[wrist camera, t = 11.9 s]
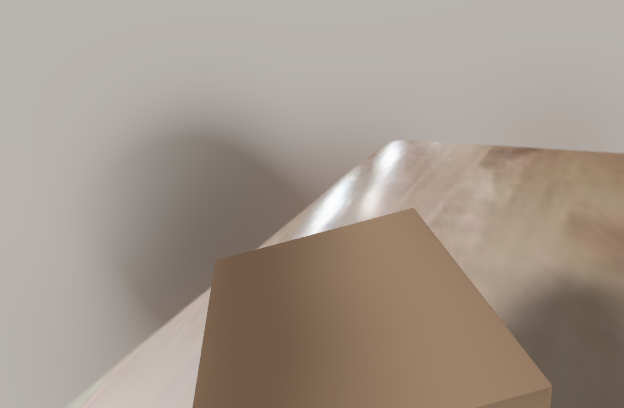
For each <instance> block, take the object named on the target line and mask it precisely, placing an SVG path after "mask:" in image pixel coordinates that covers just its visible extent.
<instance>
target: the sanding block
mask: <svg viewBox="0 0 624 408" xmlns="http://www.w3.org/2000/svg"><path fill="white" fill-rule="evenodd" d="M552 391H553V386H552V384H551V383H550V382H549V381H548V379H547V378H546V377H545V375H544V374H543V373H542V372H541V370H540V369H539V368H538V367H537V365H536V364H535V363H534V361H533V360H532V359H531V358H530V356H529V355H528V354H527V352H526V351H525V350H524V349H523V347H522V346H521V345H520V344H519V342H518V341H517V340H516V338H515V337H514V336H513V335H512V333H511V332H510V331H509V329H508V328H507V327H506V326H505V324H504V323H503V322H502V320H501V319H500V318H499V317H498V315H497V314H496V313H495V312H494V310H493V309H492V308H491V306H490V305H489V304H488V303H487V301H486V300H485V299H484V297H483V296H482V295H481V294H480V292H479V291H478V290H477V289H476V287H475V286H474V285H473V283H472V282H471V281H470V280H469V278H468V277H467V276H466V274H465V273H464V272H463V271H462V269H461V268H460V267H459V265H458V264H457V263H456V262H455V260H454V259H453V258H452V257H451V255H450V254H449V253H448V251H447V250H446V249H445V248H444V246H443V245H442V244H441V242H440V241H439V240H438V239H437V237H436V236H435V235H434V234H433V232H432V231H431V230H430V228H429V227H428V226H427V225H426V223H425V222H424V221H423V219H422V218H421V217H420V216H419V214H418V213H417V212H416V210H415V209H414V208H411V209H408V210H404V211H400V212H396V213H393V214H389V215H385V216H381V217H378V218H374V219H370V220H366V221H363V222H359V223H355V224H351V225H348V226H344V227H340V228H336V229H332V230H329V231H325V232H321V233H317V234H314V235H310V236H306V237H302V238H299V239H295V240H291V241H287V242H284V243H280V244H276V245H272V246H269V247H265V248H261V249H257V250H254V251H250V252H246V253H242V254H239V255H235V256H231V257H227V258H223V259H220V260H216V261H215V268H214V273H213V280H212V286H211V293H210V299H209V306H208V312H207V319H206V325H205V331H204V338H203V344H202V351H201V357H200V364H199V370H198V377H197V383H196V390H195V396H194V403H193V408H550V407H551V399H552Z"/></svg>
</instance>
